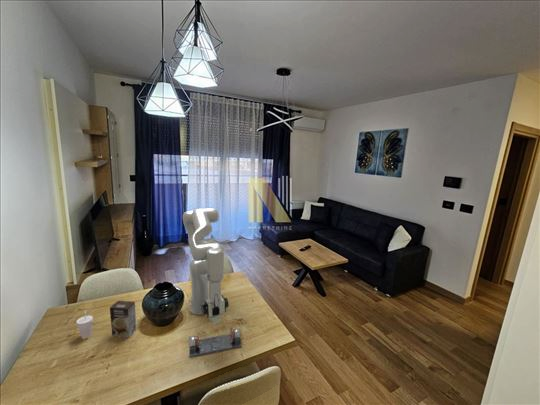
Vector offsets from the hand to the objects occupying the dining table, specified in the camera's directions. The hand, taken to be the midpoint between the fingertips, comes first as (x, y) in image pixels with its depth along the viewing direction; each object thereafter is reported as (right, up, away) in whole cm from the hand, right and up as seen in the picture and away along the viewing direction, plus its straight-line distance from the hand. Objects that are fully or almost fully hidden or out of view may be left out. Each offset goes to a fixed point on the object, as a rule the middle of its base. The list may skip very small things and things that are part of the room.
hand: (215, 310), depth 112 cm
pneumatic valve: (0, -5, +1) cm, 5 cm away
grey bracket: (-1, -18, +3) cm, 19 cm away
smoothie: (-65, -16, +5) cm, 67 cm away
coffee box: (-48, -16, +9) cm, 51 cm away
